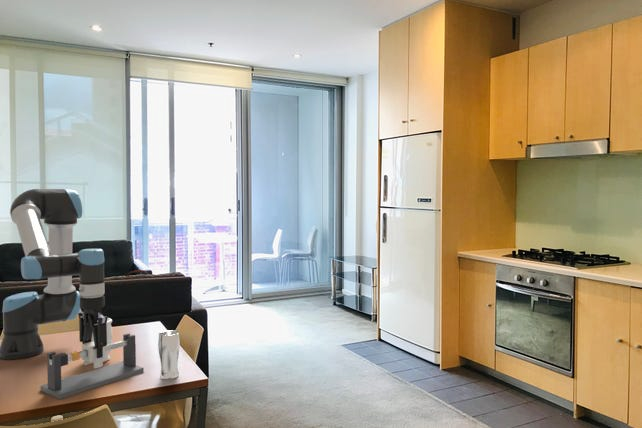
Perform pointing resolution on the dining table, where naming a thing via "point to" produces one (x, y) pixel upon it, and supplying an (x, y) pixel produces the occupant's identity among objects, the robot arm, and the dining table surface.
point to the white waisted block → (169, 353)
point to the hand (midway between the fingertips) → (93, 365)
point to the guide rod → (78, 355)
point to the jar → (109, 339)
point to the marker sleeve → (90, 351)
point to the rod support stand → (90, 373)
